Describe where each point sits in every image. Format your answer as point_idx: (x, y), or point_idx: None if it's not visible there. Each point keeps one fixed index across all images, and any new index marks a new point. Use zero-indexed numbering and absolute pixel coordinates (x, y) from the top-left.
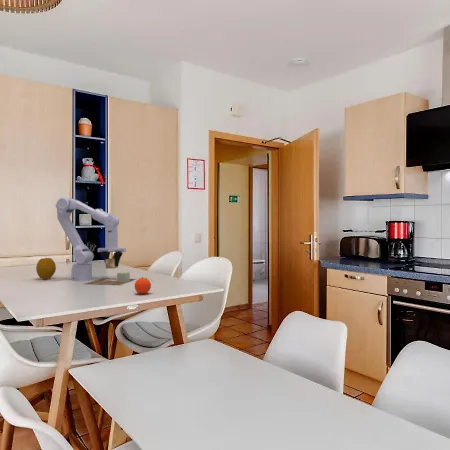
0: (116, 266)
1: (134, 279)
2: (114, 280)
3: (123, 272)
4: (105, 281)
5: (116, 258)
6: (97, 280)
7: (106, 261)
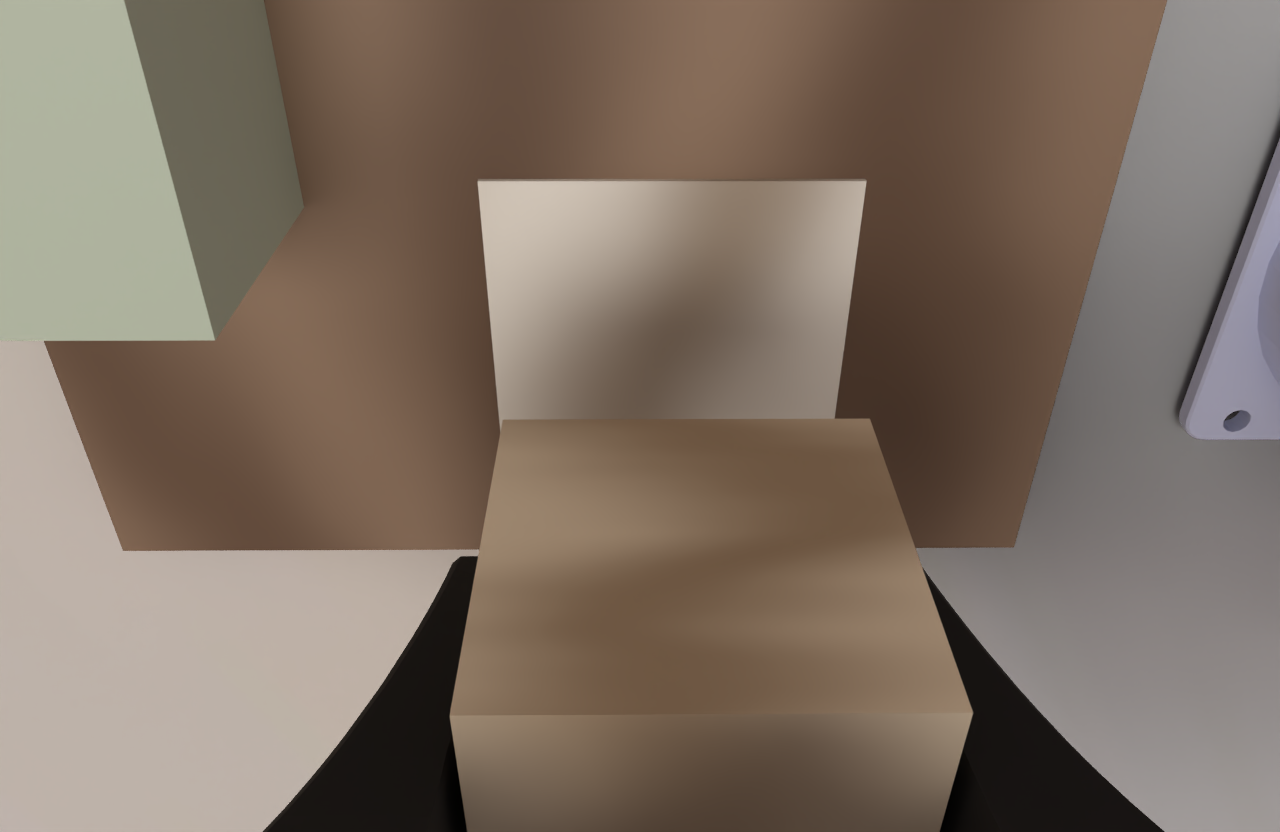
0: (453, 565)
1: (129, 475)
2: (523, 223)
3: (29, 236)
4: (720, 27)
5: (322, 823)
6: (1042, 164)
7: (888, 629)
